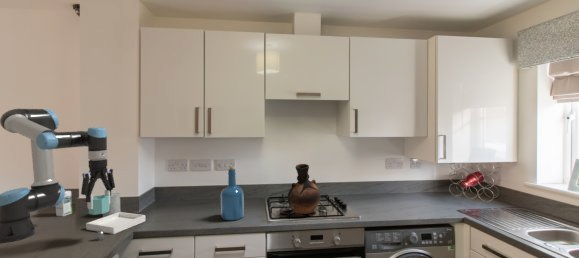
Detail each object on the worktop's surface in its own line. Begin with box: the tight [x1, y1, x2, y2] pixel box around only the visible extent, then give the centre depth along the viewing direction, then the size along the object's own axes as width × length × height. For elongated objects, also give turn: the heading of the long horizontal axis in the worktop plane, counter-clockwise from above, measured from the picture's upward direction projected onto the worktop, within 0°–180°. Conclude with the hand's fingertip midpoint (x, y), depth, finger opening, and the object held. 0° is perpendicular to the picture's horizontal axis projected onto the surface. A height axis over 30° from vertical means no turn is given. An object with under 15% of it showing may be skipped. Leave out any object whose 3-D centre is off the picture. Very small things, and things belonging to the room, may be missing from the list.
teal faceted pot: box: [88, 194, 109, 216], centre depth 140 cm, size 8×8×7 cm
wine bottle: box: [220, 166, 245, 221], centre depth 169 cm, size 14×13×30 cm
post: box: [96, 230, 104, 241], centre depth 140 cm, size 2×2×4 cm
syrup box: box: [55, 190, 73, 217], centre depth 178 cm, size 6×6×14 cm
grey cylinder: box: [102, 192, 121, 218], centre depth 177 cm, size 10×10×12 cm
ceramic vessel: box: [286, 163, 322, 215], centre depth 175 cm, size 21×18×30 cm
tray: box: [85, 211, 146, 235], centre depth 159 cm, size 20×20×3 cm
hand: (99, 205), depth 140 cm, fingers closed on teal faceted pot, 8 cm apart
